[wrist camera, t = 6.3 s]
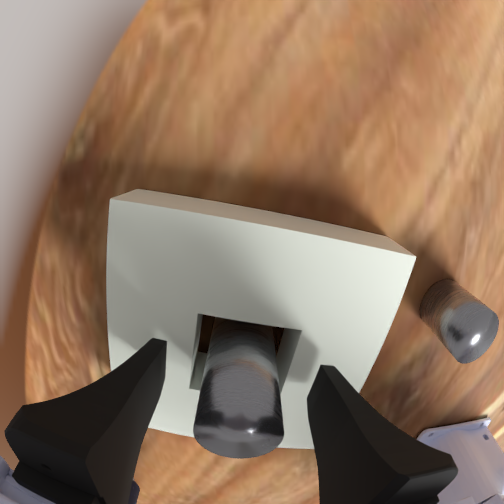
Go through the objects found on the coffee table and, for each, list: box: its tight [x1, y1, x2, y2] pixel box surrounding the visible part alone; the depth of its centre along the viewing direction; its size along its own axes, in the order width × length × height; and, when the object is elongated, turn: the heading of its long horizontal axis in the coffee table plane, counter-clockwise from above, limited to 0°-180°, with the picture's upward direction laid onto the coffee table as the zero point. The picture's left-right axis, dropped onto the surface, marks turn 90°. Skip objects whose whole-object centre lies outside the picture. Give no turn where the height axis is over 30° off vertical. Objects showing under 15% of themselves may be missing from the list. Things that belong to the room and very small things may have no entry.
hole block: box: [106, 189, 416, 449], centre depth 14 cm, size 12×12×3 cm
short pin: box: [420, 279, 499, 363], centre depth 13 cm, size 3×3×4 cm
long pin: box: [193, 317, 284, 458], centre depth 12 cm, size 3×3×7 cm
